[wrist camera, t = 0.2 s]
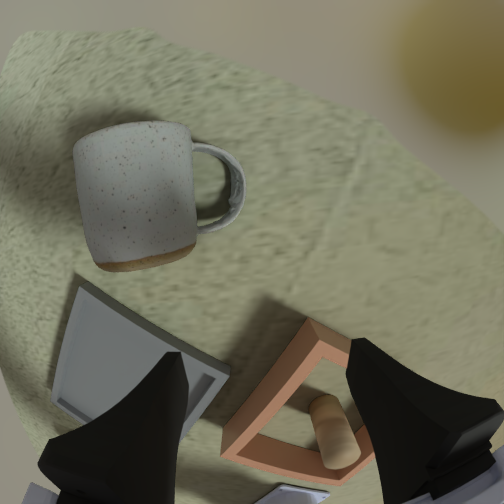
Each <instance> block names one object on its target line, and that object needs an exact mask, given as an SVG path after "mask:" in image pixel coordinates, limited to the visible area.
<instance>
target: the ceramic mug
mask: <svg viewBox="0 0 504 504" xmlns="http://www.w3.org/2000/svg"><path fill="white" fill-rule="evenodd" d="M192 151H197V152H204V153H208V154H211V155H214V156H216V157H218V158H220V159H221V160H223V161H224V162H225V163H226V164H227V166H228V167H229V171H230V173H231V195H230V198H229V200H228V201H229V205H230V208H229V210H228V212H227V213H226V214H225V215H224V216H223V217H222V218H221V219H219V220H218V221H215V222H213V223H211V224H208V225H205V226H199V227H198V226H197V215H196V206H195V200H194V184H193V164H192ZM72 152H73V161H74V169H75V178H76V186H77V193H78V200H79V205H80V210H81V216H82V222H83V227H84V233H85V238H86V242H87V245H88V248H89V251H90V253H91V256H92V258H93V260H94V262H95V264H96V265H97V266H98V267H99V268H101V269H102V270H105V271H109V272H130V271H136V270H142V269H147V268H152V267H157V266H160V265H164V264H167V263H171V262H174V261H177V260H179V259H181V258H183V257H185V256H187V255H188V254H190V252H191V251H192V250H193V248H194V247H195V244H196V237H197V236H198V235H199V234H205V233H210V232H214V231H216V230H219V229H222V228H223V227H225V226H227V225H228V224H230V223H231V222H232V221H234V219H235V218H236V217H237V216H238V214H239V213H240V211H241V209H242V207H243V205H244V201H245V198H246V178H245V174H244V170H243V168H242V166H241V164H240V163H239V162H238V160H237V159H236V158H235V157H234V156H232V155H231V154H230V153H229V152H227V151H225V150H224V149H222V148H219V147H216V146H213V145H210V144H205V143H197V142H195V143H194V142H192V140H191V132H190V129H189V128H188V127H187V126H185V125H183V124H181V123H177V122H170V121H138V122H130V123H123V124H119V125H114V126H110V127H106V128H103V129H100V130H98V131H95V132H92V133H90V134H87V135H85V136H83V137H82V138H80V139H79V140H78V141H77V142H76V143H75V144H74V147H73V151H72Z"/></svg>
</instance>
